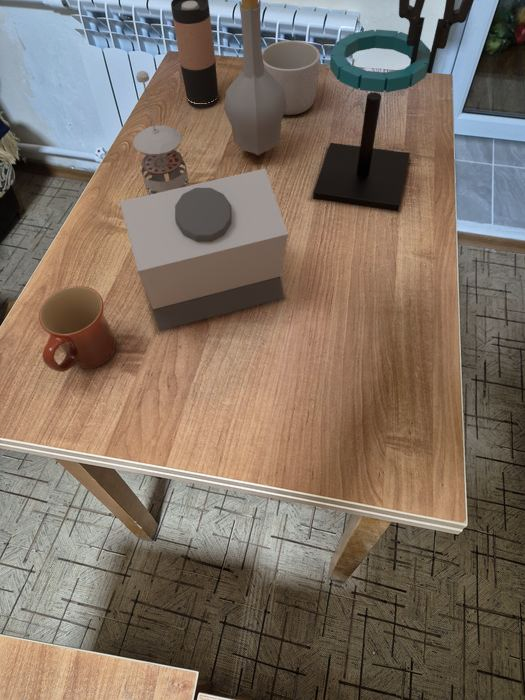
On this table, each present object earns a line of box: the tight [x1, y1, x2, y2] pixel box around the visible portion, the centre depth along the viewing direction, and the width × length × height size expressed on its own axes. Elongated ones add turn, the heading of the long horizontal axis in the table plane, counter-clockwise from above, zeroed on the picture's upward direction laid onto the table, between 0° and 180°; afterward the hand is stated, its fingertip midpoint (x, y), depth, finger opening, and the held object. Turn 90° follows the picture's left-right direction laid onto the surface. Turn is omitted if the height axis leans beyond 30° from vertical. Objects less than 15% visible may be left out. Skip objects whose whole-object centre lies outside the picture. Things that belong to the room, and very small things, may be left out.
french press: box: [132, 70, 190, 195], centre depth 87 cm, size 10×12×25 cm
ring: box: [329, 29, 431, 93], centre depth 80 cm, size 15×15×2 cm
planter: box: [262, 40, 321, 116], centre depth 110 cm, size 12×12×11 cm
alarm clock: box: [119, 168, 289, 332], centre depth 76 cm, size 20×16×20 cm
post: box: [312, 91, 411, 212], centre depth 93 cm, size 16×16×16 cm
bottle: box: [223, 0, 287, 157], centre depth 93 cm, size 11×11×30 cm
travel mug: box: [170, 0, 219, 109], centre depth 109 cm, size 8×8×20 cm
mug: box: [38, 285, 117, 373], centre depth 73 cm, size 12×9×10 cm
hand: (420, 67), depth 80 cm, fingers closed on ring, 2 cm apart
